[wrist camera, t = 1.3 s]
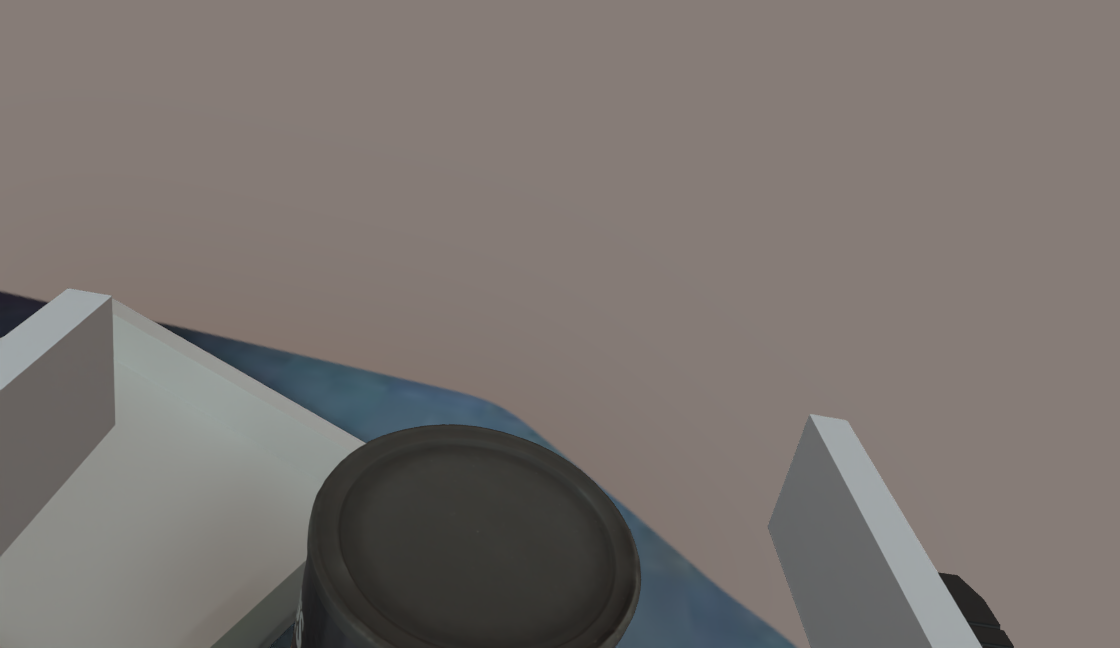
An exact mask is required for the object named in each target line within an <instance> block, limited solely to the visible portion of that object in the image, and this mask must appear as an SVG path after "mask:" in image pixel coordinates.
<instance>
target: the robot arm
mask: <svg viewBox="0 0 1120 648" xmlns="http://www.w3.org/2000/svg"><path fill="white" fill-rule="evenodd" d="M114 426H115V389H114V350H113V311H112V296H110V295H105V294H99V293H93V292H87V291H81V290H75V289H69V288H68V289H67V290H65V291H64V292H63V293H62V294H60V295H59V296H57V297H56V298H55V299H53V300H52V301H51V302H49V303H48V304H47V305H45V306H44V307H43V308H41V309H40V310H39V311H37V312H36V313H35V314H33V315H32V316H31V317H29V318H28V319H27V320H25V321H24V322H23V323H21V324H20V325H19V326H17V327H16V328H15V329H13V330H12V331H11V332H10V333H8V334H7V335H6V336H4V337H3V338H2V339H0V557H1V556H2V554H3V553H4V552H5V551H6V550H7V549H8V548H9V546H10V545H11V544H12V543H13V542H14V541H15V540H16V538H17V537H18V536H19V535H20V534H21V533H22V531H23V530H24V529H25V528H26V527H27V526H28V525H29V523H30V522H31V521H32V520H33V519H34V518H35V517H36V515H37V514H38V513H39V512H40V511H41V510H42V509H43V507H44V506H45V505H46V504H47V503H48V502H49V500H50V499H51V498H52V497H53V496H54V495H55V494H56V492H57V491H58V490H59V489H60V488H61V487H62V486H63V484H64V483H65V482H66V481H67V480H68V479H69V478H70V476H71V475H72V474H73V473H74V472H75V471H76V469H77V468H78V467H79V466H80V465H81V464H82V463H83V461H84V460H85V459H86V458H87V457H88V456H89V455H90V453H91V452H92V451H93V450H94V449H95V448H96V446H97V445H98V444H99V443H100V442H101V441H102V440H103V438H104V437H105V436H106V435H107V434H108V433H109V432H110V430H111V429H112V428H113V427H114ZM768 529H769V532H770V535H771V537H772V540H773V543H774V546H775V549H776V551H777V554H778V557H779V560H780V563H781V565H782V568H783V571H784V574H785V577H786V579H787V582H788V585H789V588H790V591H791V593H792V596H793V599H794V602H795V604H796V607H797V610H798V613H799V615H800V618H801V621H802V624H803V627H804V630H805V633H806V635H807V638H808V641H809V644H810V647H811V648H1014V646H1013V644H1012V643H1011V641H1010V640H1009V638H1008V636H1007V635H1006V633H1005V632H1004V631H1003V630H1000V624H999V622H998V621H997V619H996V618H995V617H994V615H993V613H992V611H991V610H990V608H989V607H988V605H987V604H986V602H985V601H984V599H983V598H982V597H981V596H979V595H978V594H977V593H976V592H975V591H974V590H973V589H972V588H971V587H970V586H969V585H967V584H966V583H965V582H964V581H963V580H962V579H961V578H960V577H959V576H958V575H951V574H945V573H938V572H937V571H936V569H935V567H934V566H933V564H932V562H931V561H930V559H929V557H928V556H927V554H926V552H925V551H924V549H923V547H922V545H921V544H920V542H919V540H918V539H917V537H916V535H915V534H914V532H913V530H912V529H911V527H910V525H909V524H908V522H907V520H906V519H905V517H904V515H903V514H902V512H901V510H900V509H899V507H898V505H897V504H896V502H895V500H894V498H893V497H892V495H891V493H890V492H889V490H888V488H887V487H886V485H885V483H884V482H883V480H882V478H881V477H880V475H879V473H878V472H877V470H876V468H875V467H874V465H873V463H872V461H871V460H870V458H869V456H868V455H867V453H866V451H865V450H864V448H863V446H862V445H861V443H860V441H859V440H858V438H857V436H856V435H855V433H854V431H853V429H852V428H851V426H850V425H849V423H848V421H847V420H841V419H835V418H830V417H823V416H818V415H812V414H810V415H809V417H808V419H807V422H806V425H805V428H804V430H803V433H802V436H801V438H800V441H799V444H798V446H797V449H796V452H795V455H794V457H793V460H792V463H791V465H790V468H789V471H788V473H787V476H786V479H785V482H784V484H783V487H782V490H781V493H780V495H779V498H778V500H777V503H776V506H775V508H774V511H773V514H772V517H771V519H770V522H769V525H768Z"/></svg>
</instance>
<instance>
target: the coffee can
mask: <svg viewBox="0 0 1120 648" xmlns="http://www.w3.org/2000/svg"><path fill="white" fill-rule="evenodd" d="M640 588H641V571H640V560H639V556H638V552H637V548H636V544H635V541H634V539H633V536H632V534H631V531H630V529H629V527H628V526H627V524H626V522H625V520H624V518H623V517H622V515H621V514H620V512H619V510H618V509H617V508H616V506H615V505H614V503H613V502H612V501H611V500H610V498H609V497H608V496H607V495H606V494H605V493H604V492H603V491H602V490H601V489H600V488H599V487H598V485H597V484H596V483H595V482H593V481H592V480H591V479H590V478H589V477H588V476H587V475H586V474H585V473H583V472H582V471H581V470H580V469H579V468H577V467H576V466H574V465H573V464H572V463H570V462H569V461H567V460H565V459H564V458H562V457H561V456H559V455H557V454H556V453H554V452H552V451H550V450H548V449H546V448H544V447H542V446H540V445H538V444H536V443H533V442H531V441H528V440H526V439H523V438H520V437H517V436H514V435H511V434H508V433H504V432H501V431H496V430H492V429H488V428H482V427H477V426H468V425H454V424H449V425H445V424H442V425H429V426H420V427H414V428H409V429H404V430H400V431H397V432H393V433H390V434H387V435H384V436H381V437H378V438H376V439H374V440H371V441H370V442H368V443H366V444H364V445H362V446H360V447H359V448H357V449H356V450H355V451H353V452H352V453H350V454H349V455H348V456H347V457H346V458H345V459H343V460H342V461H341V462H340V463H339V464H338V465H337V466H336V467H335V468H334V470H333V471H332V472H331V473H330V475H329V476H328V477H327V478H326V479H325V481H324V483H323V485H322V486H321V488H320V490H319V491H318V493H317V495H316V498H315V501H314V504H313V507H312V511H311V516H310V520H309V527H308V538H307V559H306V565H305V569H304V575H303V582H302V587H301V592H300V598H299V604H298V609H297V614H296V619H295V625H294V631H293V637H292V643H291V648H615V647H616V645H617V644H618V642H619V641H620V639H621V638H622V636H623V635H624V633H625V631H626V629H627V627H628V625H629V623H630V621H631V620H632V618H633V615H634V613H635V610H636V607H637V604H638V600H639V595H640Z"/></svg>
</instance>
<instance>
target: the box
mask: <svg viewBox="0 0 1120 648" xmlns="http://www.w3.org/2000/svg"><path fill="white" fill-rule="evenodd" d="M112 311H113V350H114V389H115V426H114V427H113V428H112V429H111V430H110V432H109V433H108V434H107V435H106V436H105V437H104V438H103V440H102V441H101V442H100V443H99V444H98V445H97V446H96V448H95V449H94V450H93V451H92V452H91V453H90V455H89V456H88V457H87V458H86V459H85V460H84V461H83V463H82V464H81V465H80V466H79V467H78V468H77V469H76V471H75V472H74V473H73V474H72V475H71V476H70V478H69V479H68V480H67V481H66V482H65V483H64V484H63V486H62V487H61V488H60V489H59V490H58V491H57V492H56V494H55V495H54V496H53V497H52V498H51V499H50V500H49V502H48V503H47V504H46V505H45V506H44V507H43V509H42V510H41V511H40V512H39V513H38V514H37V515H36V517H35V518H34V519H33V520H32V521H31V522H30V523H29V525H28V526H27V527H26V528H25V529H24V530H23V531H22V533H21V534H20V535H19V536H18V537H17V538H16V540H15V541H14V542H13V543H12V544H11V545H10V546H9V548H8V549H7V550H6V551H5V552H4V553H3V554H2V556H1V557H0V648H269V647H270V646H271V645H272V644H273V643H274V642H275V641H276V640H277V639H278V638H279V637H280V636H281V635H282V634H283V633H284V632H285V631H286V630H287V629H288V628H289V627H290V626H291V625H292V624H293V623H294V622H295V619H296V614H297V609H298V604H299V598H300V592H301V587H302V582H303V575H304V569H305V565H306V559H307V538H308V527H309V520H310V516H311V511H312V507H313V504H314V501H315V498H316V495H317V493H318V491H319V490H320V488H321V486H322V485H323V483H324V481H325V479H326V478H327V477H328V476H329V475H330V473H331V472H332V471H333V470H334V468H335V467H336V466H337V465H338V464H339V463H340V462H341V461H342V460H343V459H345V458H346V457H347V456H348V455H349V454H350V453H352V452H353V451H355V450H356V449H357V448H359V447H360V446H362V445H364V444H366V443H365V442H363V441H361V440H359V439H358V438H356V437H354V436H352V435H351V434H349V433H347V432H345V431H344V430H342V429H340V428H338V427H337V426H335V425H333V424H331V423H330V422H328V421H326V420H324V419H323V418H321V417H319V416H317V415H316V414H314V413H312V412H310V411H309V410H307V409H305V408H303V407H302V406H300V405H298V404H297V403H295V402H293V401H291V400H290V399H288V398H286V397H284V396H283V395H281V394H279V393H277V392H276V391H274V390H272V389H270V388H269V387H267V386H265V385H263V384H262V383H260V382H258V381H256V380H255V379H253V378H251V377H249V376H248V375H246V374H244V373H242V372H241V371H239V370H237V369H235V368H234V367H232V366H230V365H228V364H227V363H225V362H223V361H222V360H220V359H218V358H216V357H215V356H213V355H211V354H209V353H208V352H206V351H204V350H202V349H201V348H199V347H197V346H195V345H194V344H192V343H190V342H188V341H187V340H185V339H183V338H181V337H180V336H178V335H176V334H174V333H173V332H171V331H169V330H167V329H166V328H164V327H162V326H160V325H159V324H157V323H155V322H154V321H152V320H150V319H148V318H147V317H145V316H143V315H141V314H139V313H138V312H136V311H134V310H133V309H130V308H129V307H127V306H125V305H124V304H122V303H120V302H119V301H117V300H115V299H113V298H112ZM2 338H3V337H2ZM2 338H0V339H2Z"/></svg>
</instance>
